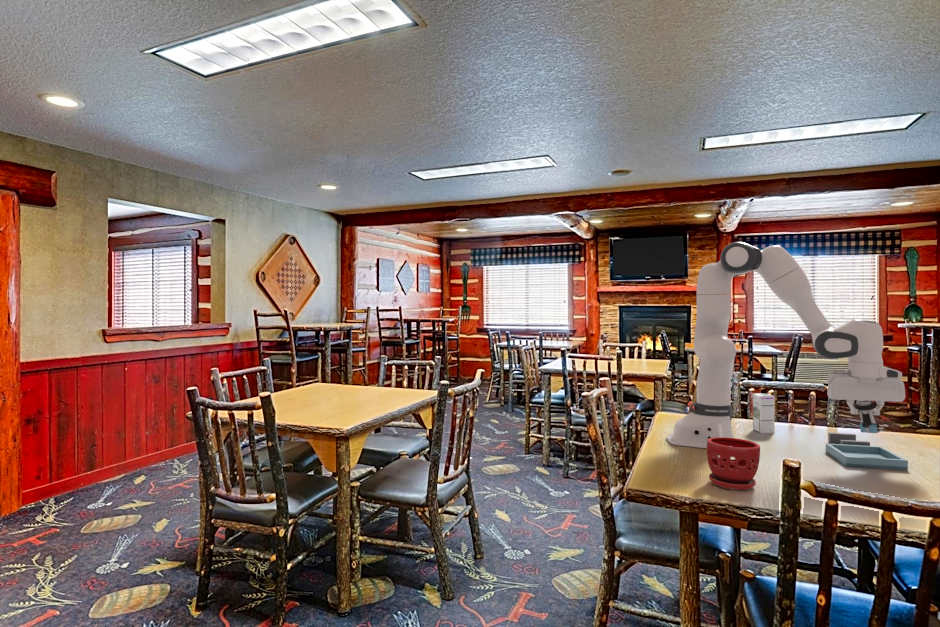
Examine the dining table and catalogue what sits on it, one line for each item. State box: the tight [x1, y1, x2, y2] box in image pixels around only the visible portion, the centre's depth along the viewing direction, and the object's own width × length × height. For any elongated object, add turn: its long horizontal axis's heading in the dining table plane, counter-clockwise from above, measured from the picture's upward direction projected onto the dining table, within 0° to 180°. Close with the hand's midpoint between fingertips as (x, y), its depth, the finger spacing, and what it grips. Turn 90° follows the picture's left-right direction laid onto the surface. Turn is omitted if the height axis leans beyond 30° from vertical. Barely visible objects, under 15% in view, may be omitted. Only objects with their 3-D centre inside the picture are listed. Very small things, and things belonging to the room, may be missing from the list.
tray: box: [825, 443, 909, 471], centre depth 169 cm, size 16×16×3 cm
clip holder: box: [827, 432, 871, 446], centre depth 185 cm, size 8×12×4 cm, turn 165°
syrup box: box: [752, 392, 775, 434], centre depth 208 cm, size 6×6×14 cm
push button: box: [853, 400, 885, 434], centre depth 169 cm, size 7×5×10 cm
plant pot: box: [706, 437, 761, 491], centre depth 148 cm, size 13×13×12 cm
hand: (865, 414), depth 169 cm, fingers closed on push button, 4 cm apart
